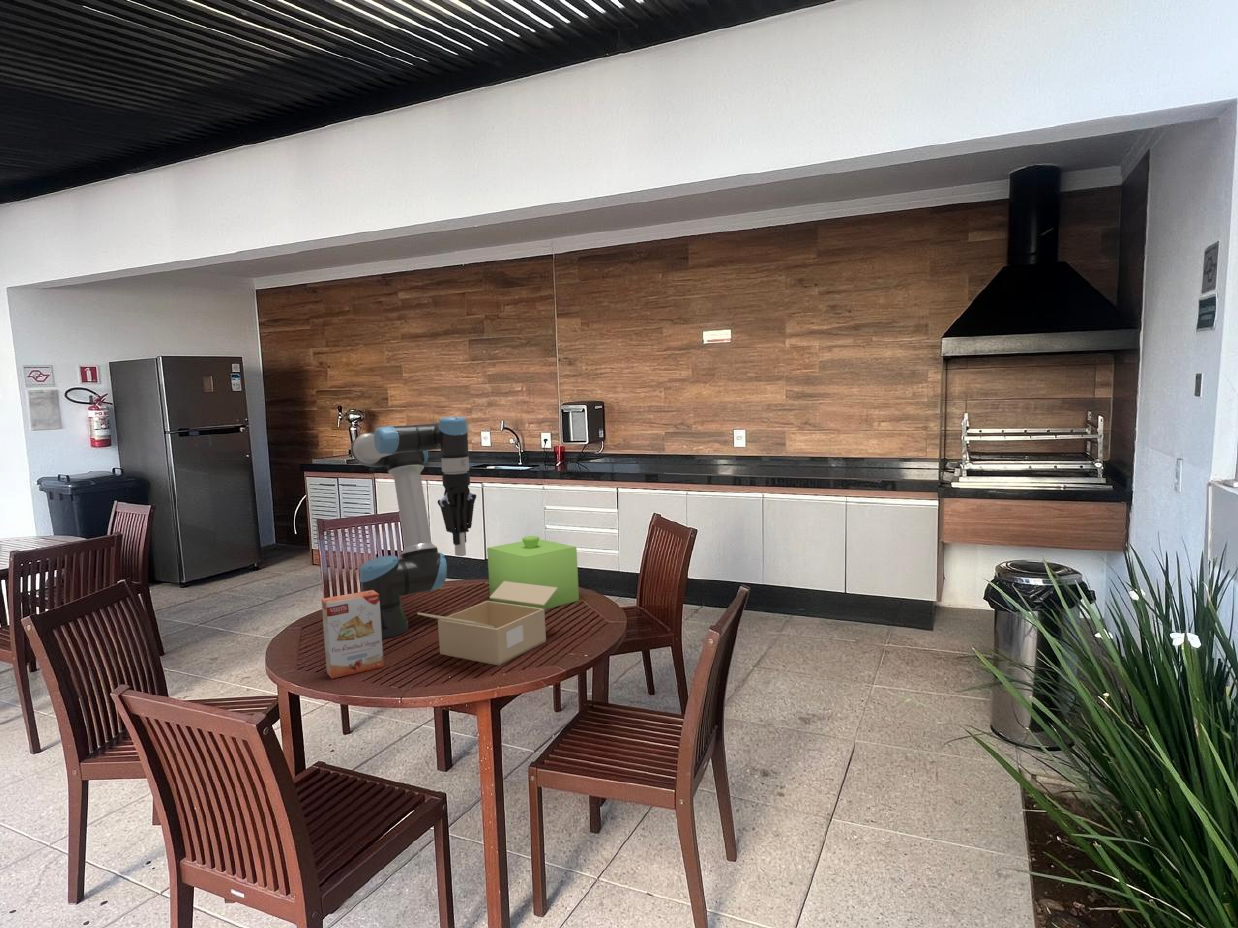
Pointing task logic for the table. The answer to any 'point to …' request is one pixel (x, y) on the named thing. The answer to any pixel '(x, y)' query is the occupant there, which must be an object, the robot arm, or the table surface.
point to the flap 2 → (524, 593)
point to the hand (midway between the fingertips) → (460, 555)
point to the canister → (535, 568)
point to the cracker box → (352, 633)
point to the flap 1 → (456, 620)
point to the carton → (492, 632)
